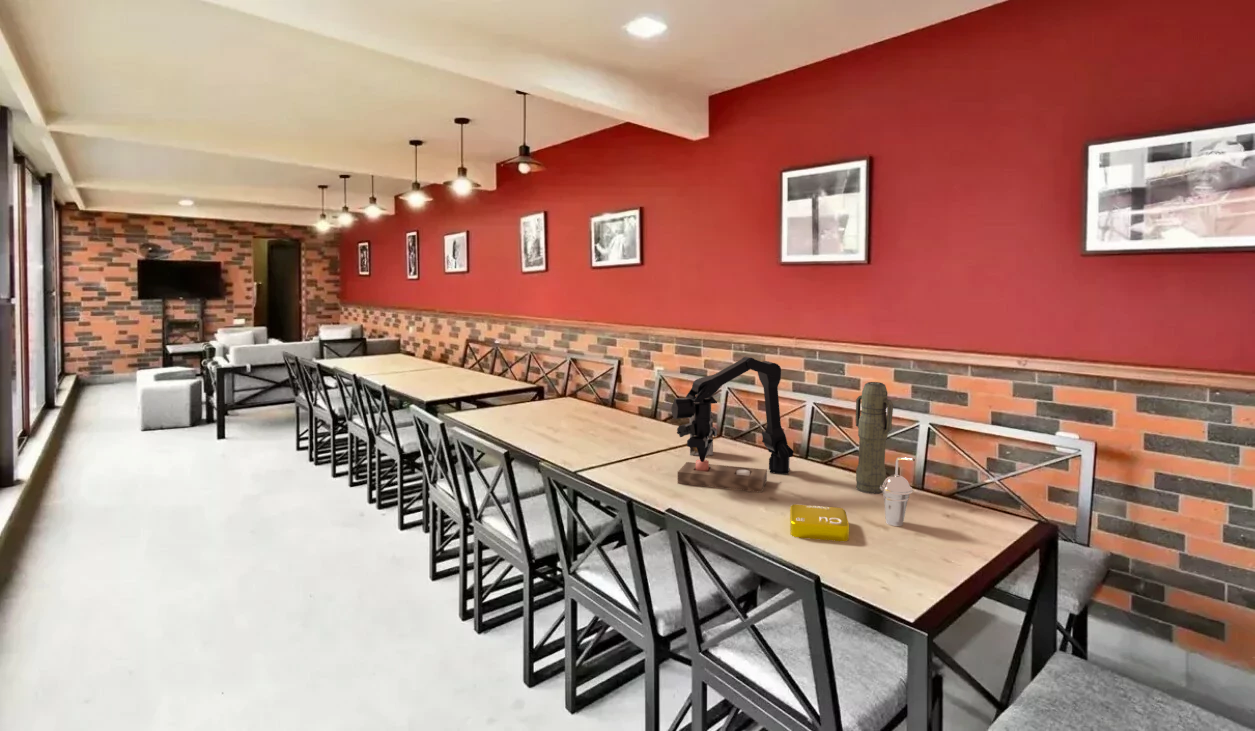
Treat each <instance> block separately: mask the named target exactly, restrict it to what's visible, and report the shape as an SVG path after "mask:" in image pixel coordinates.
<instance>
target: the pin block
mask: <svg viewBox="0 0 1255 731" xmlns="http://www.w3.org/2000/svg"><path fill="white" fill-rule="evenodd" d="M737 470H748V471H750V476H747V475H737V474H736V473H737ZM767 481H768V469H765V468H764V469H763V468H756V467H755V468H753V467H744V466H736V465H735V466H733V465H722V464H711V463H709V471H708V472H706V471H696V462H692V461H691V462H690V461H686V462H685V463H684V464H683V465H682V466H681V468H680V469H678V471H677V484H678V485H679V484H681V485H690V486H692V485H693V486H697V487H698V486H700V487H709V488H710V487H711V488H716V489H717V488H718V489H728V490H737V491H746V492H753V493H754V492H755V493H756V492H758V493H762V492H763V490H764V487H765V486H766V483H767Z"/></svg>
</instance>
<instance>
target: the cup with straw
mask: <svg viewBox="0 0 1255 731" xmlns="http://www.w3.org/2000/svg"><path fill="white" fill-rule="evenodd" d="M899 461H908V462H909V461H910V462H915V457H913V458H911V457H903V456H902V457H901V456H898V457H896V459H895V468H894V470H895V471H894V474H891V475H888V476H887V477H886V479H885V480H884V482H883V483H882V484H881V485H880V489H881V490H882V491H883V493H882V496H883V504H884V515H885V523H886V524H887V525H889V526H894V527H901V526H904V521H905V518H906V517H905V516H906V512H907V505H908V501H909V498H910V495H911V494H912V493H913V492H914V491H913V487H912V486H910V482H909V481H908V479H906V478H905V477H904V476H902V475H899Z"/></svg>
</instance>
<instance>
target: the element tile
mask: <svg viewBox="0 0 1255 731" xmlns="http://www.w3.org/2000/svg"><path fill="white" fill-rule="evenodd" d="M789 532H790V536H791V535H792V536H791V537H793V536H794V538H796V537H799V538H798V539H805V538H810V539H809V540H817V539H820V540H819V541H829V540H833V541H832V542H840V541H844V542H847V541H849V540H850V523H849V519H848V516H847V512H846V510H845V509H844V508H842V507H837V506H825V505H824V506H821V505H808V504H797V503H796V504H792V505H790V508H789ZM834 540H835V541H834Z"/></svg>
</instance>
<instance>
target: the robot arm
mask: <svg viewBox="0 0 1255 731" xmlns="http://www.w3.org/2000/svg"><path fill="white" fill-rule="evenodd" d="M750 370H751V371H754V372H756V373H757V376H758V378H759V381H760V384H761V385H762V388H763V394H764V405H765V406H764V407H765V416H766V417H765V418H766V428H765V430H764V431H761V436H762V441H761V442H762V443H763V444H764V446H765V448H766V449H767V451H768V453H770V456H769V458H768V470H769V473H770V474H779V475H780V474H781V475H789V473H790V471H791V468H790V462H791V461H790V459H791V458H793V456H794V453H795V451H794V450H793V449H792V448H791V447H790V446H789V444H788V440H787V436H786V434H785V431H784V429H783V428H782V421H781V420H782V419H781V411H780V410H781V409H780V399H779V389H778V388H779V384H780V382H781V380H782V378H781V377H782V368H781V366H780V365H779V363H777V362H772V361H767V360H763V361H760V360H758V359H755V358H753V357H750V356H743V357H742V358H741V359H740V360H737V361H735V362H734V363H732V364H731V365H729V366H727V367H725V368H723V369H721V370H720V371H718V372H716V373H713V374H711V375H705V376H703V377H700V378H697V379H695V380H694V381H693V382H692V386H691V388H690V390H689V391H688V392H687V394H686V396H685V398H684V397H683V398H679V397H676V398H674V399H673V402H672V406H671V414H672V418H673V419H674V420H676V419H688V418H689V419H690V418H691V417H692V416H694V420H693V421H692V423H690V422H689V423H686V424H684V423H682V424H681V425H678V427H677V428H676V431H677V432H676V434H677V435H678V436H679V438H683V437H684V436H690V434H691V436H692V437H691V438H690V437H689V438H688V439H687V440H686V447H689V448H690V447H696V448H697V450H698V454H699V455H698V456H699V460H700V461H701V462H704V460H706V458H707V456H708V455H707V453H708V451H709V449H710V446H711V444H712V442H713V443H714V439H713V440H712V439H709V436H710V435H713V438H714V437H715V438H716V436H718V430H717V428H716V427H715V426H713V427H711V422H712V419H711V412H712V404H718V400H716V399H715V398H714V396H713V395H714V394H716V393H717V392H718V391H719V389H720V388H721V387H722V386H723V385H725V384H727V383H728V382H730V381H732V380H734V379H736V378H738V377H739V376H741V375H743V374H745V373H747V372H748V371H750Z"/></svg>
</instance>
